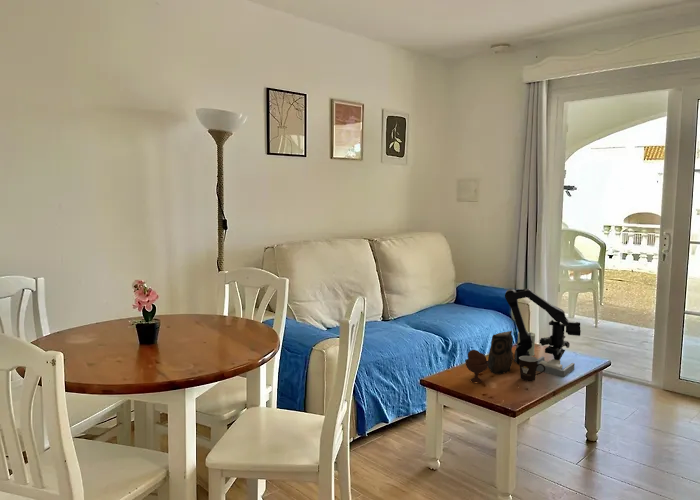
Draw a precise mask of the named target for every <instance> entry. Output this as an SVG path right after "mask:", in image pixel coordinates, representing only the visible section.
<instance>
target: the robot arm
mask: <svg viewBox="0 0 700 500" xmlns="http://www.w3.org/2000/svg"><path fill="white" fill-rule="evenodd" d="M504 298H505V300H506V302H507V304H508V305H509V307H510V309H511V312H512V315H513V316H512V317H513V318H514V321H515V324H516V328H517V330H518V332H519V337H520V342H519V343H518V342H517V343H516V346H515V349H514V351H515V352H514V358H513V361H514V362H515V363H516V364H517V365H520V364H519V357H520V356H530V354H529V351H528V350H529V349H531V347H532V343H533V339H532V337H531V333H528V332H529V331H528V330H527V329H526V324H525V323H524V318H523V316H522V313H521V310H520V307H519V300H521V299H526V298H528V299H529V300H530V301H531V302H533V303H534V304H536V305H538V307H540V308H541V309H543V310H544V311H545V312H547V314H548V315H549V316H550V317H551V321H549V322H548V325H549V326H552V327H551V328H552V331H551V335H550V336H548V337H540V338H539V344H540V345H541V346H547V345H549V346H547V347H545V348H544V353H545V354H550V355H552V356H553V359H556V360H560V361H561V360H562V359H561V358H562V357H563V356H564V353H565V352H566V349H564V347H566V348H567V349H569V348H570V342H569V341H568V340H565V338H566V335H565V333H566V334H567V335H568V336H576V337H577V336H578V337H581V332H582V331H581V322H580V321H576V322H575V321H569V319H568V318H567V317H566V313H565V310H563V309H562V308H561V307H558V306H555V305H553V304H552V303H549V302H548V301H546V299H544V298H542V297H541V296H540V295H538V294H537V293H535V292H534V291H532V289H530V288H524V289H514V288H508V289H507V290H506V291H505V293H504Z"/></svg>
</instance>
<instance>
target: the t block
mask: <svg viewBox="0 0 700 500" xmlns="http://www.w3.org/2000/svg"><path fill="white" fill-rule="evenodd" d="M539 364H543V365H544V366H547V367H552V368H556V369H561V370H563V364H561V359H560V360H556V359H554V358H551V359H550V360H549V361H548V360H547V361H546V360H544V361H541V362H539Z"/></svg>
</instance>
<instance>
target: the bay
mask: <svg viewBox="0 0 700 500" xmlns="http://www.w3.org/2000/svg"><path fill="white" fill-rule="evenodd" d="M537 359H538V364H539V362H541V361H545V356H540V357H539V358H537ZM575 365H576V364H575V363H574V362H572V363H570V364H568V365H567V366H566V367H565V368H562V370H561V369H556V368H552V367H547V366H545V371H544V372H542V371H543V370H544V367H543V366H542V365H539V366H538V367H537V369H536V372H539V373H540V372H542V373H546V374H549V375H552V376H553V375H554V376H557V377H561V378H565V377H566V376H567V375H568V374H570V373H572V371H574V370H575Z"/></svg>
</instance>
